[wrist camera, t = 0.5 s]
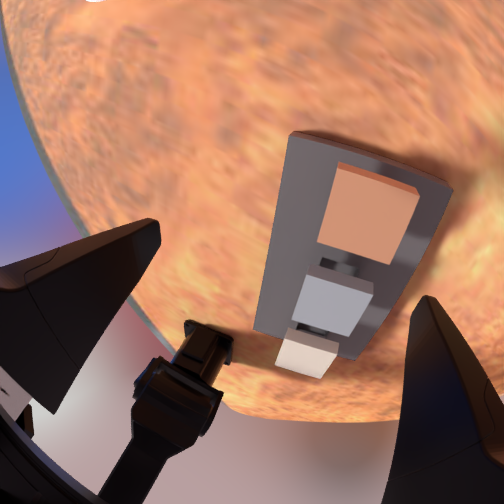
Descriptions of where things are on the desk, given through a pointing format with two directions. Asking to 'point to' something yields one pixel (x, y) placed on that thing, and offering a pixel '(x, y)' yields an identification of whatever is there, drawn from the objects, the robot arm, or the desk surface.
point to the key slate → (332, 300)
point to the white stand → (95, 0)
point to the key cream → (306, 353)
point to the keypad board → (310, 251)
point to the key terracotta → (367, 213)
